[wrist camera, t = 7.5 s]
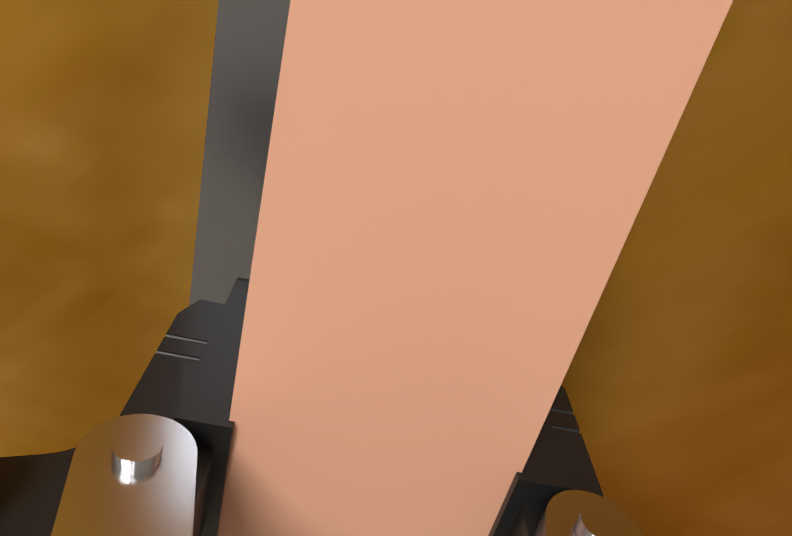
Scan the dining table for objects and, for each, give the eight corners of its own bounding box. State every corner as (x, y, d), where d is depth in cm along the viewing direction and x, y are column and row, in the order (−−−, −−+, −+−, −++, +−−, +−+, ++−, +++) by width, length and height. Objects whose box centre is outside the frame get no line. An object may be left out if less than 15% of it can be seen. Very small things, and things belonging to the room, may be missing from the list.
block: (567, -62, 11) (756, -51, 5) (385, 505, 17) (378, 791, 12) (360, -119, 11) (315, -173, 5) (252, 482, 17) (178, 766, 11)
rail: (703, -253, 13) (801, -312, 10) (425, 514, 23) (429, 606, 20) (301, -376, 12) (265, -485, 9) (198, 475, 22) (164, 565, 19)
